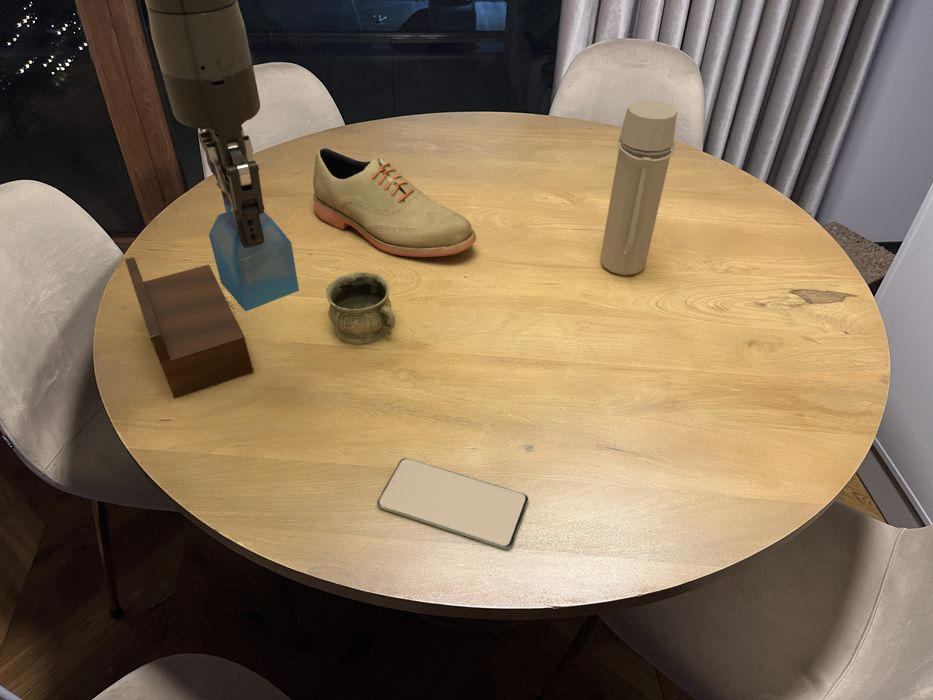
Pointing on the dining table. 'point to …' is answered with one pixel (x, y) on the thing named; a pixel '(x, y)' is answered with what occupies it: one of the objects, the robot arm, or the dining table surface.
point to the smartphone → (454, 502)
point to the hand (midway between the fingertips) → (246, 231)
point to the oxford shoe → (385, 207)
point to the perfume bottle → (253, 261)
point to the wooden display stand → (191, 328)
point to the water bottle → (638, 185)
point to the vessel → (360, 307)
